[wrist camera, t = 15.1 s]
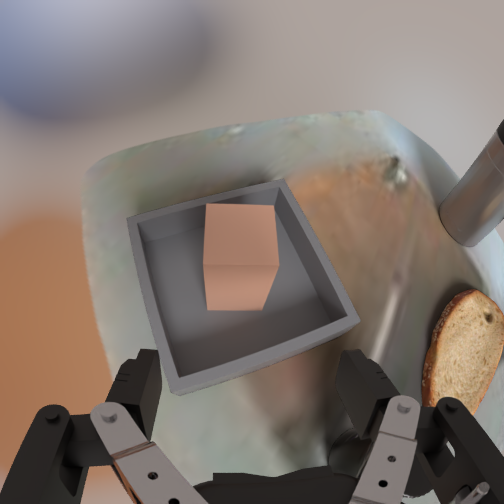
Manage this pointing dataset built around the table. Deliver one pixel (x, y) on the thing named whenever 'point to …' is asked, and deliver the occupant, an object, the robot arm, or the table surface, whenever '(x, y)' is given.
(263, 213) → the salmon pink block
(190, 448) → the table surface
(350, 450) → the supplement bottle
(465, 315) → the slice of bread
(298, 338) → the charcoal bin
